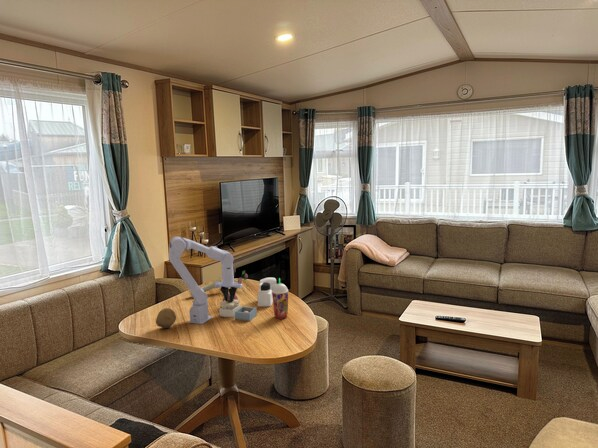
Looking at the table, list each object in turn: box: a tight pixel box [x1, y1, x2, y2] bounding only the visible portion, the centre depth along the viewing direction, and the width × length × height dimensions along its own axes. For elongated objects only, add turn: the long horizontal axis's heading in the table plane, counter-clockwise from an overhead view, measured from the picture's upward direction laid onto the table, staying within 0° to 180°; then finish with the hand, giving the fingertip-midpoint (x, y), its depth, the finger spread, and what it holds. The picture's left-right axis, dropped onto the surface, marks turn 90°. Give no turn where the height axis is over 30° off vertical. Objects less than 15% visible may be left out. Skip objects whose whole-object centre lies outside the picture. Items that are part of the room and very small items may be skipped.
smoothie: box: [272, 277, 289, 320], centre depth 203 cm, size 8×8×20 cm
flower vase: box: [189, 270, 249, 299], centre depth 246 cm, size 12×12×35 cm
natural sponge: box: [155, 307, 177, 329], centre depth 194 cm, size 9×9×10 cm
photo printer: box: [258, 277, 278, 290], centre depth 232 cm, size 10×4×12 cm, turn 117°
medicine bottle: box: [256, 282, 273, 307], centre depth 223 cm, size 7×7×12 cm
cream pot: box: [218, 304, 242, 319], centre depth 210 cm, size 8×8×4 cm
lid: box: [219, 295, 240, 307], centre depth 210 cm, size 7×7×4 cm
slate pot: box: [234, 306, 258, 322], centre depth 205 cm, size 8×8×4 cm
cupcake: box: [221, 292, 239, 305], centre depth 219 cm, size 9×8×12 cm
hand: (229, 300), depth 210 cm, fingers closed on lid, 2 cm apart
